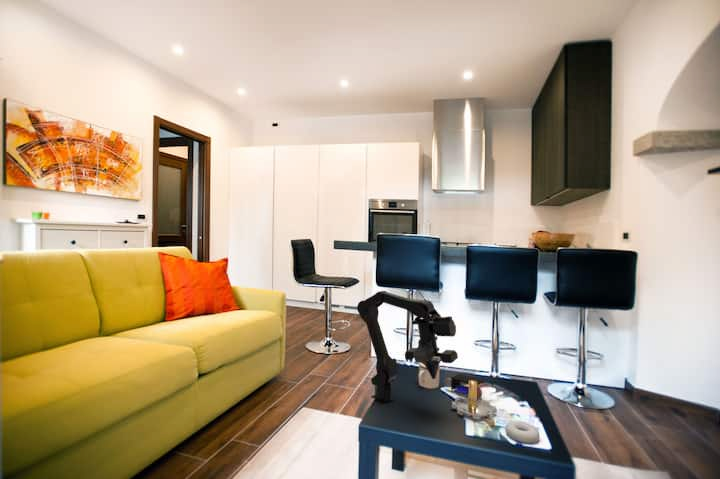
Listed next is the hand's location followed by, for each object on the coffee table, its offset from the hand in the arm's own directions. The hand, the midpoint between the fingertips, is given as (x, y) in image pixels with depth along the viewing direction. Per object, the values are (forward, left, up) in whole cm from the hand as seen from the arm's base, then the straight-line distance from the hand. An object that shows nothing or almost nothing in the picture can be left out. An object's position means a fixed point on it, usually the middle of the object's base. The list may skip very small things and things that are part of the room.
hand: (434, 378), depth 131 cm
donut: (+26, +13, -13) cm, 32 cm away
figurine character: (-6, +23, -13) cm, 27 cm away
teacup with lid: (-20, +16, -12) cm, 28 cm away
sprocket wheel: (+7, +13, -11) cm, 19 cm away
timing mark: (+16, +11, -12) cm, 23 cm away
